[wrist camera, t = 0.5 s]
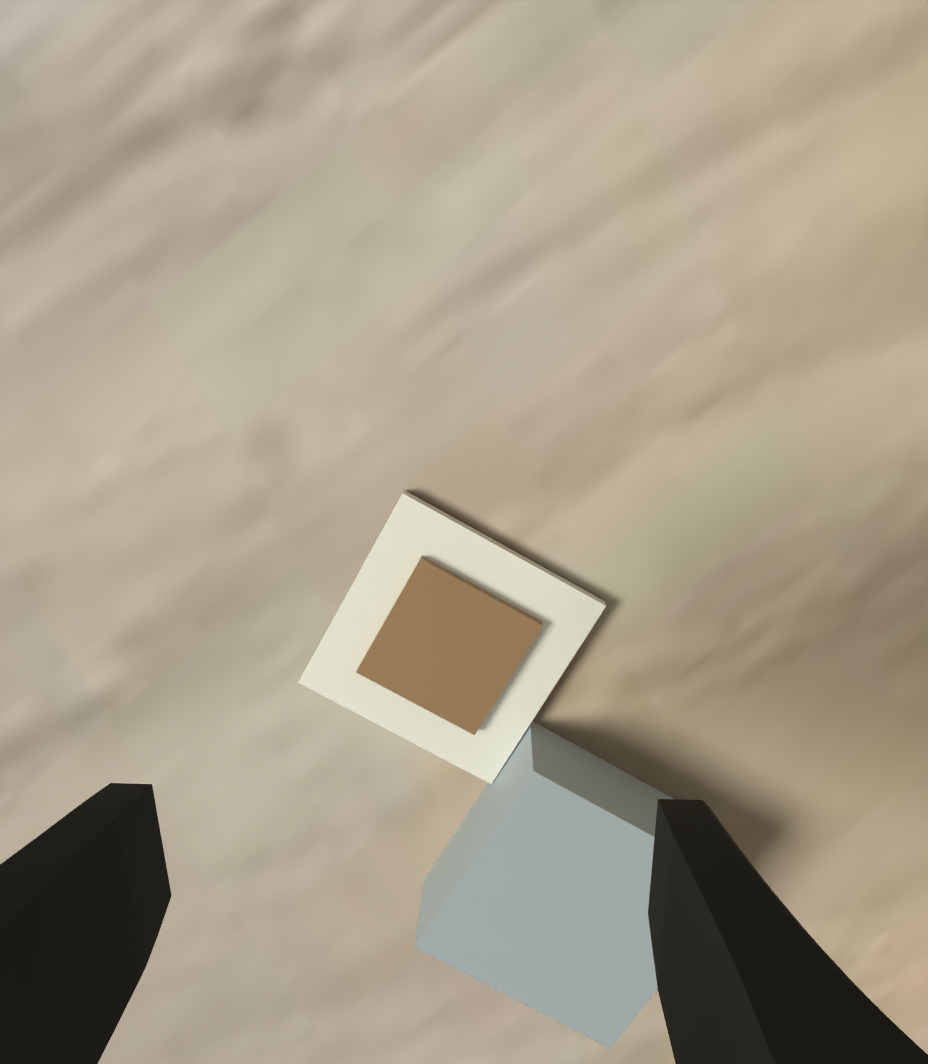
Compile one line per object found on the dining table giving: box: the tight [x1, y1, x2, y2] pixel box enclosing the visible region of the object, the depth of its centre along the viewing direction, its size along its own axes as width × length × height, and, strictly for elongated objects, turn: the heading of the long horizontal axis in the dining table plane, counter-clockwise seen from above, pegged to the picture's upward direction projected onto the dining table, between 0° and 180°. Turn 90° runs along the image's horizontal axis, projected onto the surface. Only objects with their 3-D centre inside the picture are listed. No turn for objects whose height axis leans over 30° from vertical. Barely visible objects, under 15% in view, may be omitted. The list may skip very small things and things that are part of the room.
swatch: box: [298, 490, 606, 784], centre depth 22 cm, size 6×6×1 cm
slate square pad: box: [415, 721, 673, 1049], centre depth 23 cm, size 6×6×3 cm
